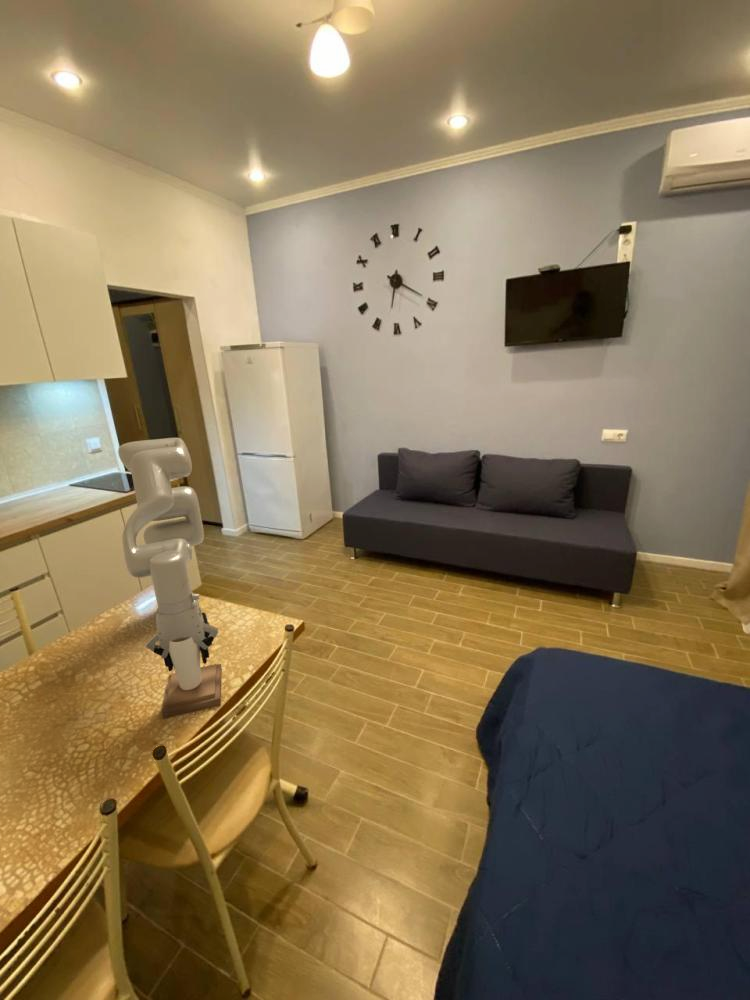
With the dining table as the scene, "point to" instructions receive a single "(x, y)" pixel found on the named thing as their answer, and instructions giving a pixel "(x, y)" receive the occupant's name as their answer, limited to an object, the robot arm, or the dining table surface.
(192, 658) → the drinking glass
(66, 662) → the dining table surface
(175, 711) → the pedestal
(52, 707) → the dining table surface
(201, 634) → the robot arm
